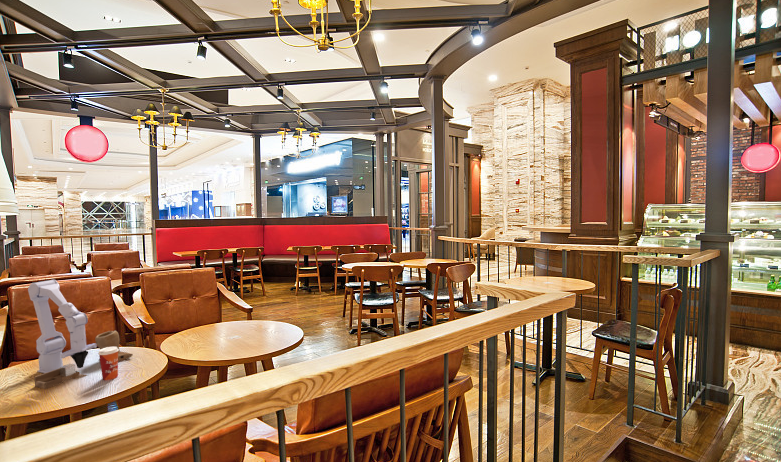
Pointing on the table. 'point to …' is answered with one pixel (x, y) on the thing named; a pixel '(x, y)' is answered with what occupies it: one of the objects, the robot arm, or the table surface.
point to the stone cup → (111, 343)
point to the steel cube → (67, 370)
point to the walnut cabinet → (53, 378)
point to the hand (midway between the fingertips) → (80, 367)
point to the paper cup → (109, 362)
